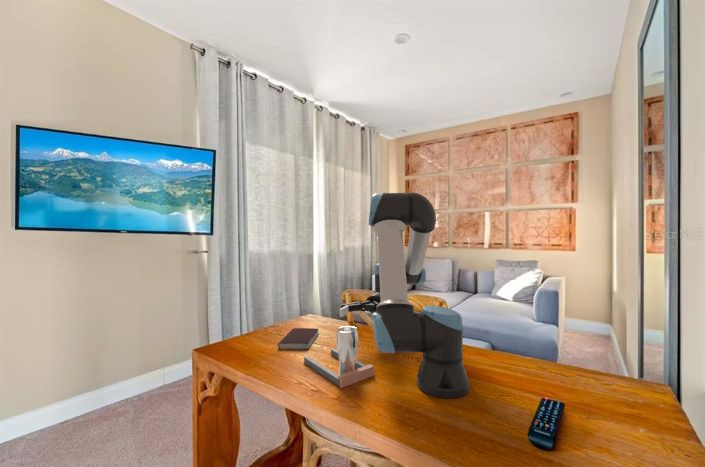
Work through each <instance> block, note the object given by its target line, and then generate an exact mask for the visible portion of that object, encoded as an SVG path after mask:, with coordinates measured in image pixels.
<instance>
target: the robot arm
mask: <svg viewBox="0 0 705 467" xmlns="http://www.w3.org/2000/svg"><path fill="white" fill-rule="evenodd" d="M368 217H369V218H368V226H370V227H372V231H373V232H374V233H375V234H376V235H377V251H378V262H377V263H376V264H375V266H374V293H372V294H371V295H370V296H368V297H367V298H366V300H365V301H361V302H360V301H359V300H357V301H354V302H349V303H342V304H340V308H339V318H342V317H344V316H346V315H348V314H350V312H358V311H359V312H368V313H370V314H371V322H372V331H373V332H372V333H373V336H374V341H375V346H376V348H377V350H378V351H379V352H380V353H384V354H385V353H386V354H387V353H389V354H396V353H398V354H402V353H406V354H408V353H410V354H411V353H413V354H414V353H422V359H421V362H420V366H419V369H418V372H417V375H416V384H417V387H418V388H419V390H421V391H422V392H423V393H425V394H427V395H430V396H433V397H436V398H440V399H457V398H461V397H464V396H465V395H467V394H468V393H469V392H470V380H469V378H468V376H467V371H466V368H465V366H464V361H463V359H464V357H463V355H464V353H463V351H464V350H463V349H464V348H463V347H464V346H463V342H464V341H463V339H464V338H463V336H464V335H463V334H464V332H463V331H464V327H463V317H462V315H461V314H460V312H457V311H456V310H453V309H452V308H448V307H443V306H438V305H425V306H423V307H422V309H421V311H418V312H417V311H415V308H414V304H413V303H411V302H410V300H409V297H408V296H409V294H408V285H424V284H425V282H426V280H427V279H426V277H427V274H426V273H427V272H426V268H424V262H425V257H426V254H427V249H428V245H429V240H430V238H431V233H432V232H433V231H434V230H435V227H436V224H437V214H436V210H435V208H434V206H433V204H432V203H431V201H430V200H429V199H428V198H427V197H426V196H424V195H423V194H420V193H418V192H413V191H412V192H380V193H379V192H377V193H373V194H372V195H371V198H370V205H369V216H368ZM407 226H409V228H410V231H409V236H408V237H409V239H408V243H407V249H406V254H405V248H404V238H403V236H404V235H403V233H404V232H405V231H406V229H407ZM405 255H406V256H405Z"/></svg>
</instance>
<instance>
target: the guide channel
mask: <svg viewBox="0 0 705 467" xmlns="http://www.w3.org/2000/svg"><path fill="white" fill-rule="evenodd" d="M330 355H331V356H332V357H334V358H336V359H338V360H339V356H338V351H337V348H331V349H330ZM303 363H304V364H305V365H306V366H308V367H309V368H311V369H312V370H314V371H316V372H317V373H319V374H320V375H322V376H323V377H325V378H326V379H328V380H329V381H331V382H332V383H333V384H335V385H336V386H338V387H340V388H341V389H342V388H345V387H348V386H350V385H351V386H352V385H354V384H356V383H358V382H359V383H360V381H363V380H366V379H369V378H371V377H373V376H374V377H375V366H374V365H373V364H371V363H370V364H365V363H363V362H361V361H359V360H358V359H356V369H355V370H352V371H350V372H347V373H344V374H341V375H339V374H338V373H336V372H334V371H332V370H330V369H329V368H327V366H324V365H322V364H321V363H319V362H318V361H316V360H314V359H313V358H311V357H310V356H304V357H303Z"/></svg>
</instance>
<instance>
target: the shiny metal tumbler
mask: <svg viewBox="0 0 705 467" xmlns="http://www.w3.org/2000/svg"><path fill="white" fill-rule="evenodd" d="M358 348H359V334H358V328H357V327H355V326H352V325H351V326H350V325H349V326H348V325H346V326H345V325H343V326H340V327H338V328H337V330H336V350H337V351H338V356H339V359H338V361H339V362H338V363H339V368H338V375H341V374H344V373H347V372H350V371H352V370H355V369H356V360H357V358H358V357H357V356H358Z"/></svg>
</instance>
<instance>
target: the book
mask: <svg viewBox="0 0 705 467" xmlns="http://www.w3.org/2000/svg"><path fill="white" fill-rule="evenodd" d="M319 335H320V333H319V328H314V327H313V328H311V327H306V328H305V327H295V328H291V330H289V332H288V333H287V334H286V335H285V336H284V337H283V338H282V339H281V340H280V341H279V342H278V343H277V344H278V345H277V346H278V349H279V350H280V349H281V350H282V349H283V350H300V351H303V350H305V351H306V350H307V351H308V350H310V349H311V347H312V345H313V344H314V342H315V341H316V339H317V337H318V336H319Z"/></svg>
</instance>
